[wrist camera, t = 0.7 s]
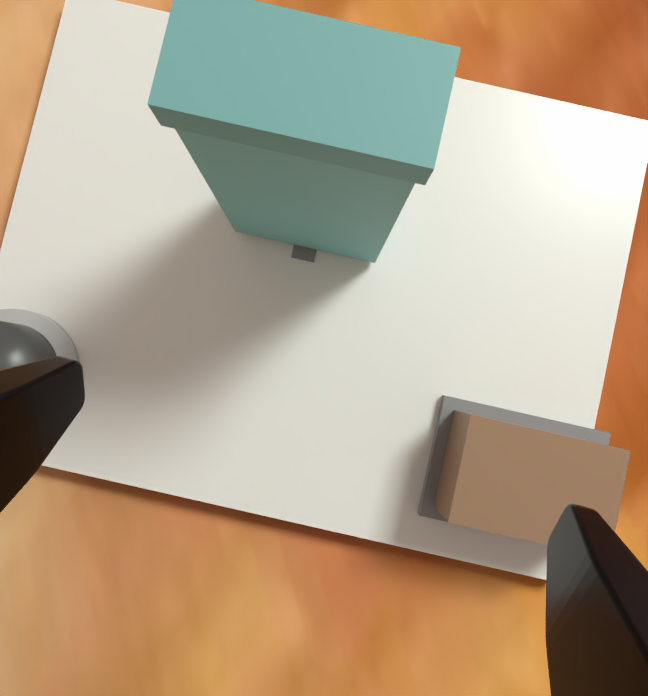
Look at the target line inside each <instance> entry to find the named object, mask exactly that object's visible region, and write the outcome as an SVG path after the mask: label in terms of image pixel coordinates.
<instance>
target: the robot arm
mask: <svg viewBox="0 0 648 696" xmlns="http://www.w3.org/2000/svg"><path fill="white" fill-rule="evenodd" d="M84 401H85V388H84V377H83V367H82V365H81V363H80V362H79V361H77V360H74V359H70V358H67V357H63V356H56V357H52V358H48V359H44V360H40V361H36V362H32V363H28V364H24V365H20V366H16V367H12V368H8V369H4V370H0V512H1V511H2V510H3V509H4V508H5V507H6V506H7V505H8V503H9V502H10V501H11V500H12V499H13V498H14V497H15V495H16V494H17V493H18V492H19V491H20V490H21V489H22V488H23V486H24V485H25V484H26V483H27V482H28V481H29V479H30V478H31V477H32V476H33V475H34V474H35V472H36V471H37V470H38V468H39V467H40V466H41V465H42V463H43V462H44V461H45V459H46V458H47V456H48V455H49V454H50V452H51V451H52V449H53V448H54V447H55V445H56V444H57V442H58V441H59V440H60V438H61V437H62V435H63V434H64V433H65V431H66V430H67V428H68V427H69V426H70V424H71V423H72V421H73V420H74V419H75V417H76V416H77V414H78V413H79V412H80V410H81V409H82V407H83V405H84ZM546 648H547V659H548V669H549V679H550V689H551V696H648V571H647V570H646V569H645V567H644V566H643V565H642V564H641V563H640V562H639V560H638V559H637V558H636V557H635V556H634V554H633V553H632V552H631V551H630V550H629V548H628V547H627V546H626V545H625V544H624V543H623V541H622V540H621V539H620V538H619V537H618V535H617V534H616V533H615V532H614V531H613V529H612V528H611V527H610V526H609V525H608V523H607V522H606V521H605V520H604V519H603V518H602V516H601V515H600V514H599V513H598V512H597V511H596V510H594V509H592V508H588V507H585V506H581V505H578V504H574V503H572V504H568V505H567V506H566V507H565V509H564V511H563V513H562V514H561V516H560V518H559V520H558V522H557V524H556V525H555V527H554V529H553V531H552V533H551V535H550V537H549V540H548V545H547V573H546Z"/></svg>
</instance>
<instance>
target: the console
mask: <svg viewBox="0 0 648 696" xmlns="http://www.w3.org/2000/svg"><path fill="white" fill-rule="evenodd" d="M169 15H170V13H169V12H165V11H160V10H156V9H152V8H147V7H143V6H138V5H134V4H130V3H125V2H121V1H116V0H65V4H64V8H63V12H62V16H61V20H60V23H59V27H58V31H57V35H56V39H55V43H54V47H53V50H52V54H51V58H50V62H49V66H48V70H47V73H46V77H45V81H44V85H43V89H42V93H41V96H40V100H39V104H38V108H37V112H36V116H35V119H34V123H33V127H32V131H31V135H30V139H29V142H28V146H27V150H26V154H25V158H24V162H23V165H22V169H21V173H20V177H19V181H18V185H17V188H16V192H15V196H14V200H13V204H12V208H11V211H10V215H9V219H8V223H7V227H6V231H5V234H4V238H3V242H2V246H1V250H0V370H4V369H8V368H12V367H16V366H20V365H24V364H28V363H32V362H36V361H40V360H44V359H48V358H52V357H56V356H63V357H67V358H70V359H74V360H77V361H79V362H80V363H81V365H82V367H83V377H84V388H85V401H84V405H83V407H82V409H81V410H80V412H79V413H78V414H77V416H76V417H75V419H74V420H73V421H72V423H71V424H70V426H69V427H68V428H67V430H66V431H65V433H64V434H63V435H62V437H61V438H60V440H59V441H58V442H57V444H56V445H55V447H54V448H53V449H52V451H51V452H50V454H49V455H48V456H47V458H46V459H45V461H44V462H43V463H42V465H43V466H47V467H51V468H56V469H60V470H65V471H69V472H73V473H78V474H82V475H87V476H91V477H95V478H100V479H104V480H109V481H113V482H117V483H122V484H126V485H131V486H135V487H139V488H144V489H148V490H153V491H157V492H161V493H166V494H170V495H175V496H179V497H183V498H188V499H192V500H197V501H201V502H205V503H210V504H214V505H219V506H223V507H227V508H232V509H236V510H241V511H245V512H249V513H254V514H258V515H263V516H267V517H271V518H276V519H280V520H285V521H289V522H293V523H298V524H302V525H306V526H311V527H315V528H320V529H324V530H328V531H333V532H337V533H342V534H346V535H350V536H355V537H359V538H364V539H368V540H372V541H377V542H381V543H386V544H390V545H394V546H399V547H403V548H408V549H412V550H416V551H421V552H425V553H430V554H434V555H438V556H443V557H447V558H452V559H456V560H460V561H465V562H469V563H474V564H478V565H482V566H487V567H491V568H496V569H500V570H504V571H509V572H513V573H518V574H522V575H526V576H531V577H535V578H540V579H544V580H546V573H547V545H548V540H549V537H550V535H551V533H552V531H553V529H554V527H555V525H556V524H557V522H558V520H559V518H560V516H561V514H562V513H563V511H564V509H565V507H566V506H567V505H568V504H572V503H574V504H578V505H581V506H585V507H588V508H592V509H594V510H596V511H597V512H598V513H599V514H600V515H601V516H602V518H603V519H604V520H605V521H606V522H607V523H608V525H609V526H610V527H611V528H612V529H613V531H614V532H615V529H616V524H617V519H618V514H619V508H620V503H621V498H622V493H623V488H624V483H625V478H626V473H627V468H628V462H629V457H630V452H631V451H630V450H626V449H622V448H618V447H614V446H610V445H609V440H610V435H611V433H608V432H604V431H600V430H595V429H594V427H595V422H596V417H597V412H598V407H599V402H600V397H601V392H602V387H603V382H604V377H605V372H606V367H607V362H608V357H609V352H610V347H611V342H612V337H613V332H614V327H615V322H616V317H617V312H618V307H619V302H620V297H621V292H622V287H623V282H624V276H625V271H626V266H627V261H628V256H629V251H630V246H631V241H632V236H633V231H634V226H635V221H636V216H637V211H638V206H639V201H640V196H641V191H642V186H643V181H644V176H645V171H646V166H647V161H648V121H647V120H642V119H638V118H633V117H629V116H625V115H620V114H616V113H611V112H607V111H602V110H598V109H594V108H589V107H585V106H580V105H576V104H571V103H567V102H563V101H558V100H554V99H549V98H545V97H541V96H536V95H532V94H527V93H523V92H518V91H514V90H510V89H505V88H501V87H496V86H492V85H488V84H483V83H479V82H474V81H470V80H465V79H461V78H457V77H454V82H453V86H452V91H451V95H450V100H449V104H448V109H447V113H446V118H445V122H444V127H443V131H442V136H441V141H440V145H439V150H438V154H437V159H436V163H435V168H434V170H433V172H432V174H431V176H430V177H429V179H428V181H427V183H426V185H421V184H417V183H415V185H414V187H413V189H412V191H411V193H410V195H409V197H408V198H407V200H406V202H405V204H404V206H403V208H402V210H401V212H400V214H399V216H398V218H397V220H396V222H395V224H394V226H393V228H392V230H391V232H390V234H389V236H388V238H387V240H386V242H385V244H384V246H383V248H382V250H381V252H380V254H379V256H378V258H377V260H376V262H375V263H373V262H368V261H364V260H360V259H355V258H351V257H346V256H342V255H337V254H333V253H329V252H324V251H320V250H315V249H311V248H307V247H302V246H298V245H293V244H289V243H285V242H280V241H276V240H271V239H267V238H263V237H258V236H254V235H249V234H245V233H240V232H236V231H235V230H234V229H233V227H232V225H231V224H230V222H229V220H228V218H227V217H226V215H225V213H224V212H223V210H222V208H221V206H220V205H219V203H218V201H217V200H216V198H215V196H214V195H213V193H212V191H211V189H210V188H209V186H208V184H207V183H206V181H205V179H204V177H203V176H202V174H201V172H200V171H199V169H198V167H197V166H196V164H195V162H194V160H193V159H192V157H191V155H190V154H189V152H188V150H187V148H186V147H185V145H184V143H183V142H182V140H181V138H180V137H179V135H178V133H177V131H176V130H175V129H174V128H169V127H165V126H161V125H160V123H159V122H158V120H157V119H156V117H155V115H154V114H153V112H152V111H151V109H150V108H149V106H148V104H147V103H148V99H149V95H150V91H151V87H152V83H153V79H154V75H155V71H156V67H157V63H158V59H159V55H160V51H161V47H162V43H163V39H164V35H165V31H166V27H167V23H168V19H169Z"/></svg>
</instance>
